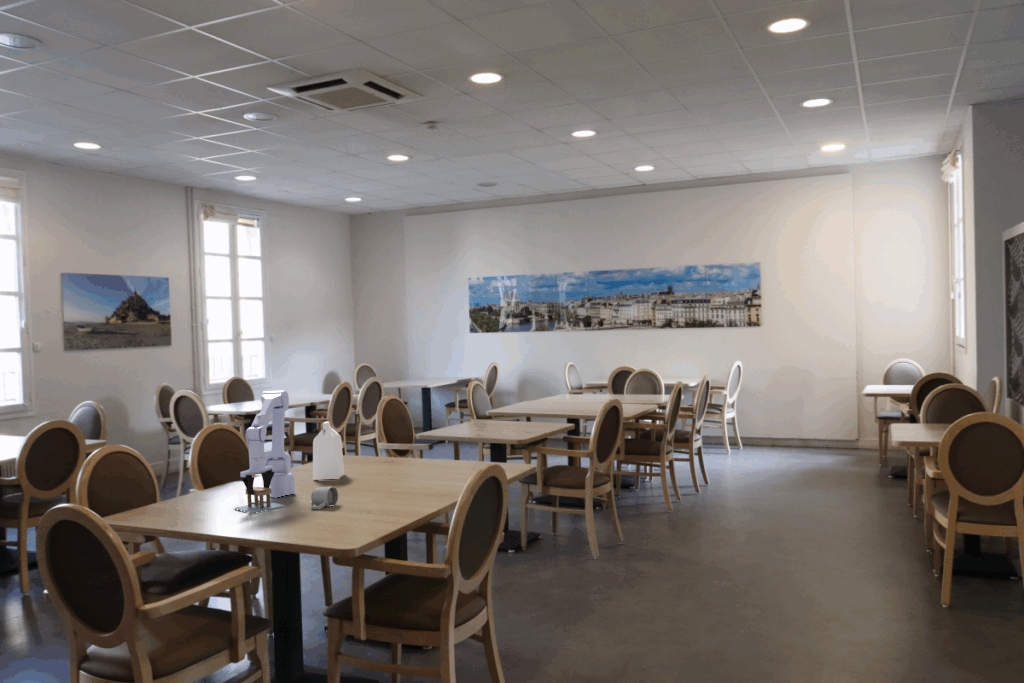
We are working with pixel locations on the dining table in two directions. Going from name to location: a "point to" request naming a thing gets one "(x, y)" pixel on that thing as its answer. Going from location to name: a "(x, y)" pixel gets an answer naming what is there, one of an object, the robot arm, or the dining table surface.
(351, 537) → the dining table surface
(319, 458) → the milk
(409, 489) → the dining table surface
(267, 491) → the stool
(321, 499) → the ceramic mug
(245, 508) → the mat
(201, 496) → the dining table surface
